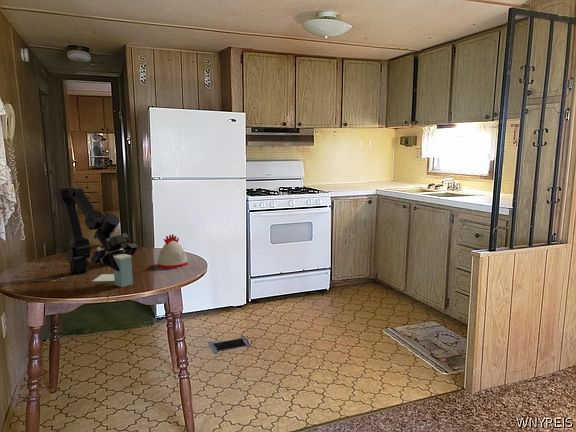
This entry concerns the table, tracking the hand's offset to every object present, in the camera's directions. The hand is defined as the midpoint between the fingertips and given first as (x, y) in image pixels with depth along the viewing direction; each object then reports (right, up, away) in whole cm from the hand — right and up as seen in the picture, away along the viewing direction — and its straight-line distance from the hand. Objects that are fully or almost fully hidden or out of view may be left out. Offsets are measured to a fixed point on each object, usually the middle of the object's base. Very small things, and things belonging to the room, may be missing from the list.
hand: (124, 269), depth 171 cm
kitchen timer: (+11, -2, +32) cm, 34 cm away
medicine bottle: (-24, -1, +42) cm, 48 cm away
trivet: (-11, -5, +11) cm, 17 cm away
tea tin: (-1, -6, +2) cm, 7 cm away
